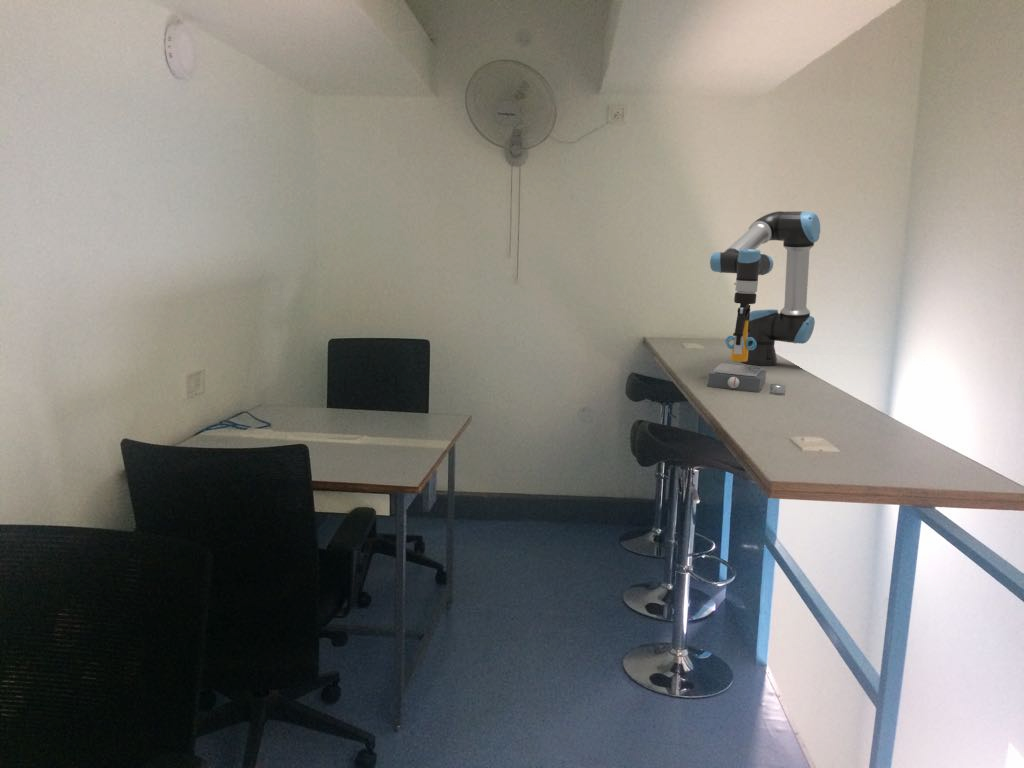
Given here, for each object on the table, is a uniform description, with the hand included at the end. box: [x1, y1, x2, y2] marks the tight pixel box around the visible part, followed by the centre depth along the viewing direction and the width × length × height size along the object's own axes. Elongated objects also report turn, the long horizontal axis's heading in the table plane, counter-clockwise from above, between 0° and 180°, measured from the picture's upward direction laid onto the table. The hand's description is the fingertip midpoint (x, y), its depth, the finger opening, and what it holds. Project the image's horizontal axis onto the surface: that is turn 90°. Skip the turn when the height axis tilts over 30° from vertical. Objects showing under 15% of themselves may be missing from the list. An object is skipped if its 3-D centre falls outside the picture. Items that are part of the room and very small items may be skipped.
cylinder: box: [725, 320, 757, 363], centre depth 274 cm, size 12×10×15 cm
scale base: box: [707, 364, 767, 393], centre depth 277 cm, size 19×18×5 cm
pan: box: [713, 362, 763, 377], centre depth 277 cm, size 15×15×5 cm
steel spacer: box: [769, 383, 787, 396], centre depth 265 cm, size 5×5×3 cm
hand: (740, 351), depth 275 cm, fingers closed on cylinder, 12 cm apart
